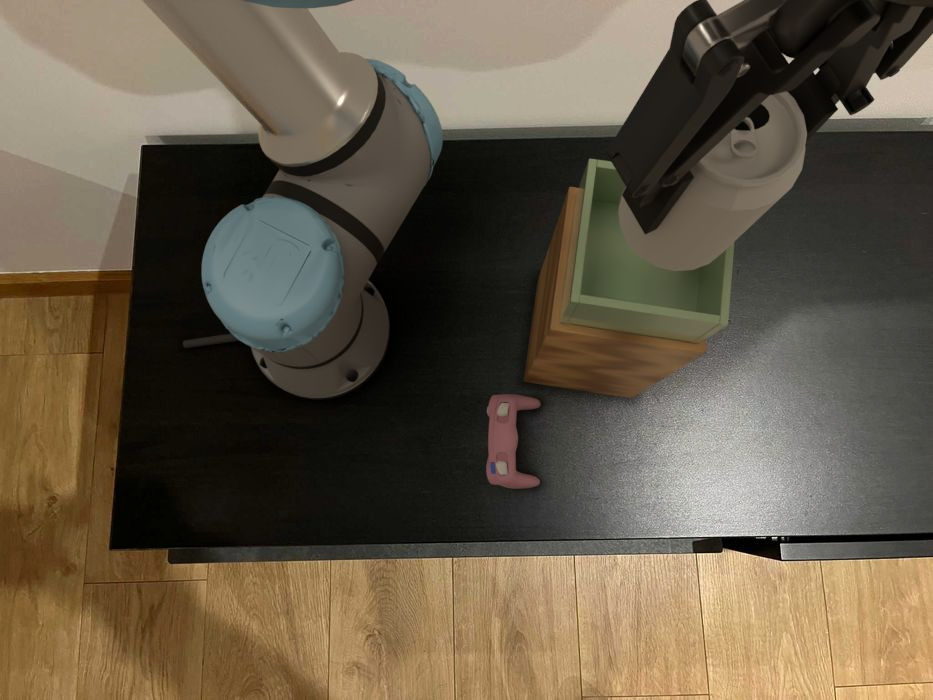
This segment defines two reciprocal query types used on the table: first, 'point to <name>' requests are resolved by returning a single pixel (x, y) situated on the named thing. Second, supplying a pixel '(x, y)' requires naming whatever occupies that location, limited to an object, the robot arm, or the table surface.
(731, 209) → the can
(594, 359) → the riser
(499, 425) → the video game controller
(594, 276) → the box
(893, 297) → the table surface
